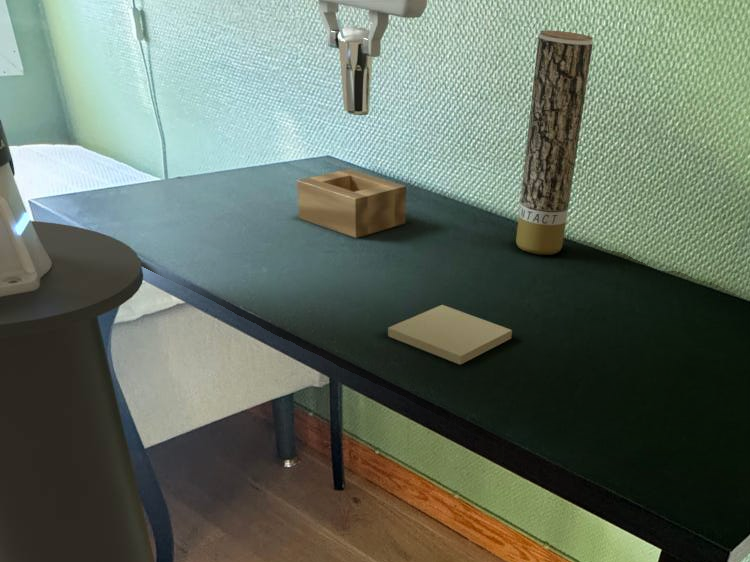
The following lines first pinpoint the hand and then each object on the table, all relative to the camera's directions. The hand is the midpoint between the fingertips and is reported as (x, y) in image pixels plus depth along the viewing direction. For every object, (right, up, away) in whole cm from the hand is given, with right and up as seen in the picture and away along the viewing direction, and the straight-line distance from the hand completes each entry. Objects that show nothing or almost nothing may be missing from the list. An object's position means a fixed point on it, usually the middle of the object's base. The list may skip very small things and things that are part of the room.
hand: (354, 51), depth 102 cm
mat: (+13, -41, -12) cm, 44 cm away
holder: (-3, -13, +16) cm, 21 cm away
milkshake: (-1, -5, +5) cm, 7 cm away
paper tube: (+24, -18, +14) cm, 34 cm away
